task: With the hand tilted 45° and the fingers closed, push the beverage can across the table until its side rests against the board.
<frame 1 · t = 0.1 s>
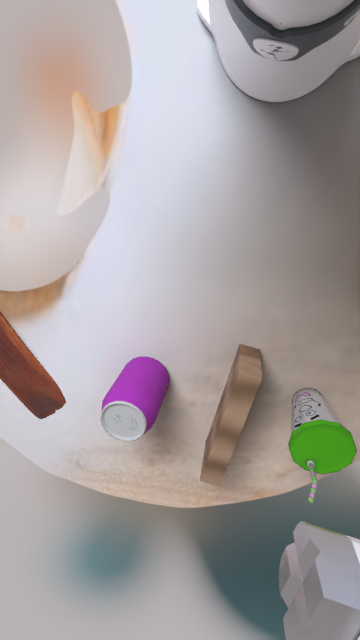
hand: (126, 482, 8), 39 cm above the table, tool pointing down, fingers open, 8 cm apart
board: (230, 399, 52), on the table
cup: (307, 399, 50), on the table
wooden tablet: (10, 354, 58), on the table
beverage can: (148, 373, 54), on the table
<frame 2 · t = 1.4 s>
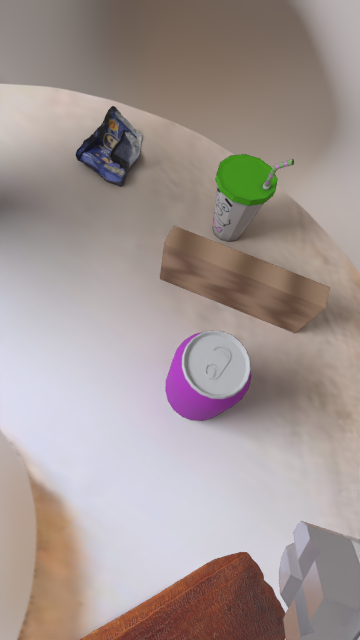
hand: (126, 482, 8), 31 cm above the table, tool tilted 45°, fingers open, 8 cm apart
snack package: (116, 161, 54), on the table
board: (229, 296, 46), on the table
cup: (226, 230, 50), on the table
beverage can: (195, 389, 40), on the table
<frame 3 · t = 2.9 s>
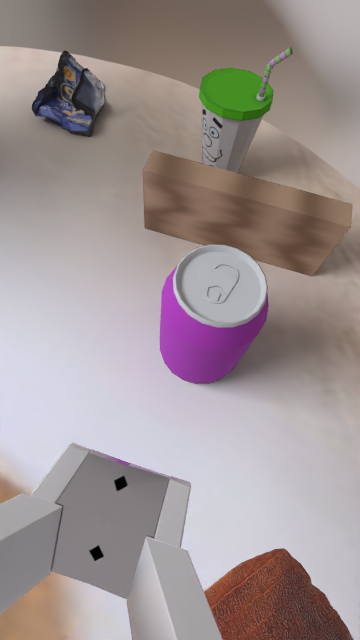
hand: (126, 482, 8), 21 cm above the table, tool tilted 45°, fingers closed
snack package: (79, 114, 47), on the table
board: (229, 242, 38), on the table
cup: (218, 173, 43), on the table
beverage can: (198, 349, 32), on the table
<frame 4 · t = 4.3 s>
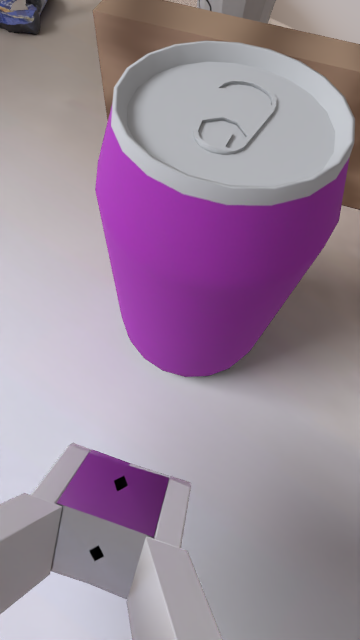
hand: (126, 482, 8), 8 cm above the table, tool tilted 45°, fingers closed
snack package: (21, 13, 34), on the table
board: (240, 164, 25), on the table
cup: (222, 81, 30), on the table
beverage can: (190, 319, 19), on the table
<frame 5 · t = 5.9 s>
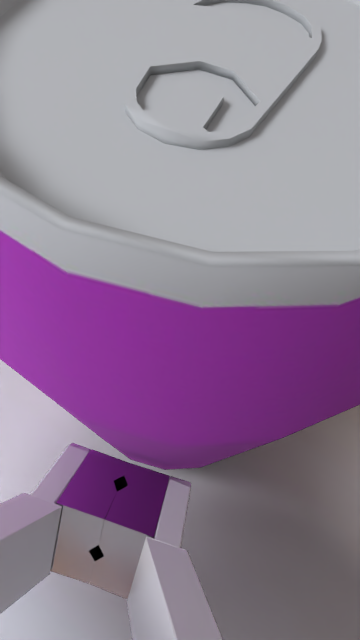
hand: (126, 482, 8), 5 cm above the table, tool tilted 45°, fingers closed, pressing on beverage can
beverage can: (175, 374, 14), on the table, touching gripper
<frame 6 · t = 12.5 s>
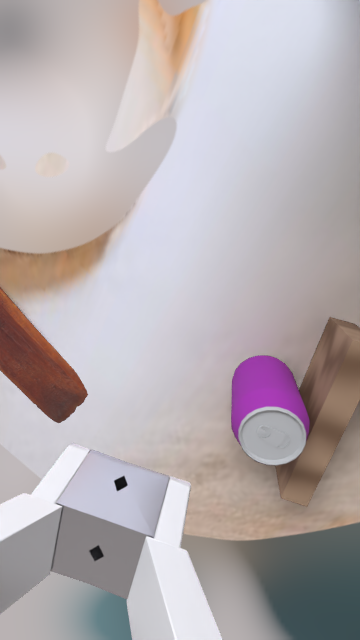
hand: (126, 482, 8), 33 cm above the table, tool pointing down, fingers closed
board: (310, 392, 41), on the table
wooden tablet: (16, 342, 47), on the table
beverage can: (261, 379, 42), on the table
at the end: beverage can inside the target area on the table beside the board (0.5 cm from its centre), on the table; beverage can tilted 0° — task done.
